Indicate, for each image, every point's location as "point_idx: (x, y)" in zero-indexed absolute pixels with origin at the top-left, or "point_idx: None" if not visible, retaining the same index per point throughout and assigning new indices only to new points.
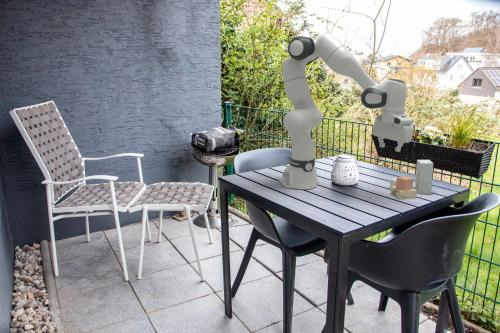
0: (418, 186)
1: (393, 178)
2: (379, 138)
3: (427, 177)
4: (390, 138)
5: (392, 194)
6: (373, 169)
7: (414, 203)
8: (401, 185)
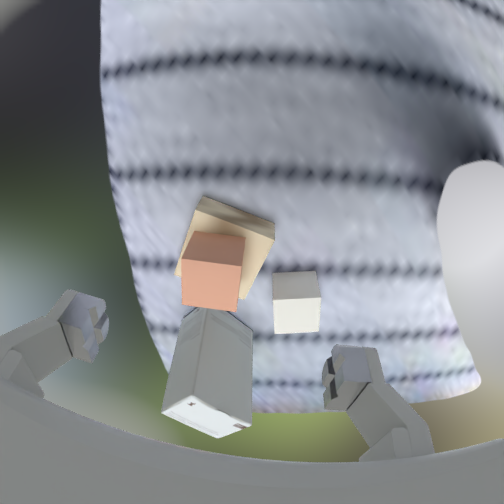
0: (210, 318)
1: (318, 316)
2: (408, 437)
3: (180, 356)
4: (100, 441)
5: (259, 218)
6: (444, 376)
7: (141, 199)
8: (210, 243)
